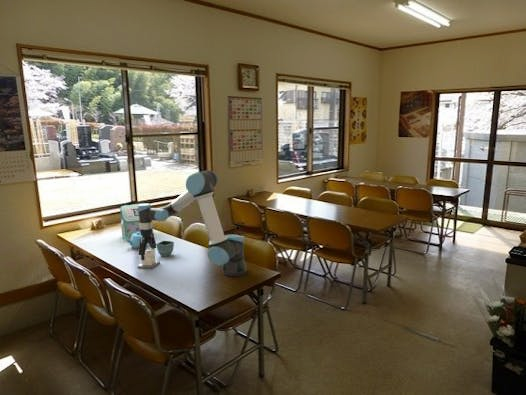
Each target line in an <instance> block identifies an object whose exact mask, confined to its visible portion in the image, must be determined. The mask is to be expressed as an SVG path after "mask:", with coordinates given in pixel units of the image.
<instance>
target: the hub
mask: <svg viewBox="0 0 526 395" xmlns="http://www.w3.org/2000/svg"><path fill="white" fill-rule="evenodd" d="M149 258H150V257H149ZM159 264H161V262H160V260H155V263H154V264H152V265H142V262H141V263H140V264H138V265H137V269H144V270H145V269H147V270H153V269H155V268H156V267H158V265H159Z"/></svg>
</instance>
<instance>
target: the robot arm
mask: <svg viewBox="0 0 526 395" xmlns="http://www.w3.org/2000/svg"><path fill="white" fill-rule="evenodd" d="M218 183H219V176H218V175H217V173H215V171H214V170H209V169H207V170H203V171H198V172H194V173H191V174H189V175H188V177H187V178H186V181H185V188H186V191H184V192H183V193H181V194H180V195H179V196H178V197H177V198H175V199H174V200H172V201H171V202H170V203H169V204H167V205H164V206H161V207H157V208H156V207H152V206H151V203H148V204H147V203H146V204H145V203H139V204H140V205H139V206H138V212H139V222H140V223H139V224H140V228H141V229H140V234H141V235H142V239H140V240H139V241H140V245H139V249H138V255H139V256H140V260H141V263H142V265H146V255H145V251H146V250H147V245H149V247H150V248H149V250H152V251H153V255H155V256H156V252H155V250H156V249H157V245H156V244H157V242H156V238H155V235H154V229H153V230H152V227H153V221H155V222H166V221H167V220H168V218H170V217H173V216H176V215H178V214H179V213H180V212H181V211H182V210H183V209H184V208H186V207H187V206H189V205H190V204H191V203H193V202H194V201H197V203H198V206H199V209H200V212H201V216H202V219H203V223H204V226H205V229H206V232H207V235H208V239H209V242H208V244H207V245H208V247H209V248H208V252H207V257H208V260H209V261H210V262H211V263H212V264H214V265H215V266H222V269H221V273H222V274H223V275H224V276H227V277H239V276H242V275H243V276H244V275H245V274H246V273H247V271H248V269H247V268H248V267H247V265H246V261H245V259H244V258H245V257H244V256H245V255H244V249H245V248H244V238H243V236H242V235H239V234H225V233H224V230H223V227H222V224H221V220H220V217H219V214H218V210H217V208H216V204H215V201H214V199H213V194H214V189H215V188H216V187H217V186H218Z"/></svg>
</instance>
